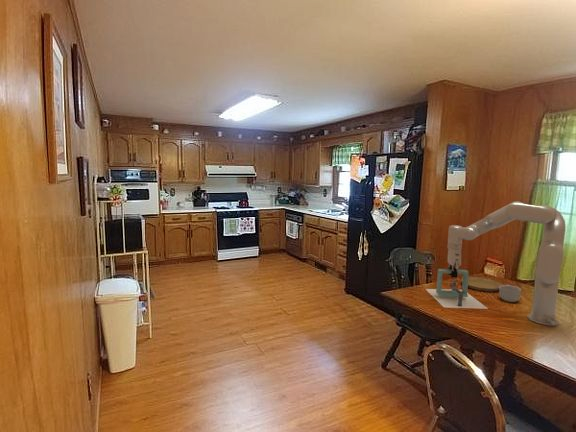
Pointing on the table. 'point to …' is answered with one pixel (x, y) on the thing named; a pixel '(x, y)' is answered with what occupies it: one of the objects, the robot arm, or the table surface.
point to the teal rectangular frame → (449, 292)
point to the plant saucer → (483, 284)
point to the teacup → (509, 293)
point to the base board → (456, 300)
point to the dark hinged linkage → (453, 286)
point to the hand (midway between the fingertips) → (452, 275)
